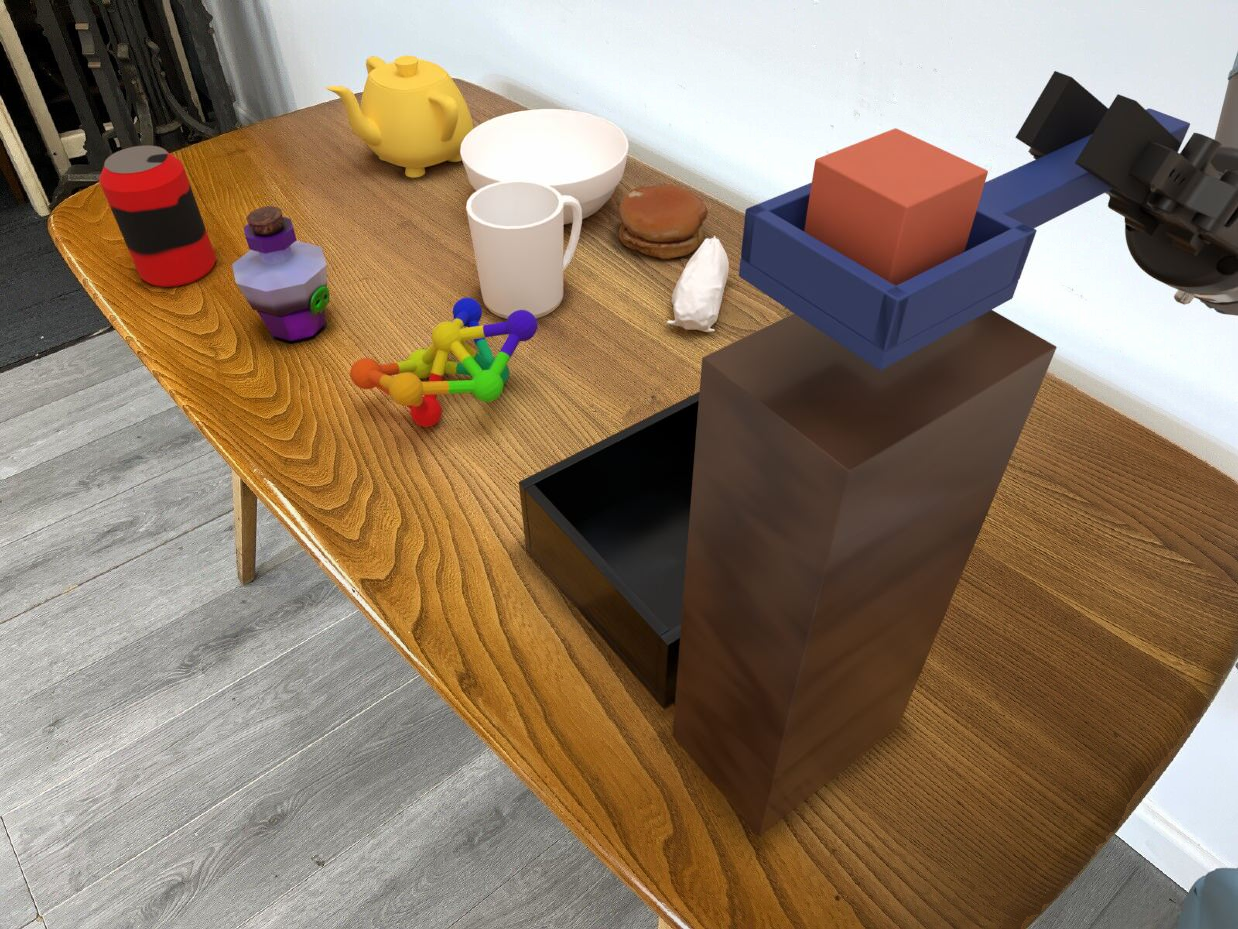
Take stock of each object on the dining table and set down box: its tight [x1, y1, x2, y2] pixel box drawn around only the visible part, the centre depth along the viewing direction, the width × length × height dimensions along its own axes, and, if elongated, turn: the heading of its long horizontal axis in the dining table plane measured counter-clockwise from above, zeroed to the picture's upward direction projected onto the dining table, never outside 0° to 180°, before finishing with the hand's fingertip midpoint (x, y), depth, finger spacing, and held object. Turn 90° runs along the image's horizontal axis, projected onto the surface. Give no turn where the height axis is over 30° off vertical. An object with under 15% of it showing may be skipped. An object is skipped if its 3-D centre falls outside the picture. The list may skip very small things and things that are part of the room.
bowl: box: [460, 108, 630, 225], centre depth 102 cm, size 18×18×7 cm
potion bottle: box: [231, 205, 331, 345], centre depth 84 cm, size 9×9×12 cm
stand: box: [672, 309, 1058, 837], centre depth 47 cm, size 8×12×30 cm, turn 126°
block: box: [804, 127, 989, 286], centre depth 32 cm, size 4×4×4 cm
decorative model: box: [349, 297, 538, 428], centre depth 78 cm, size 13×9×15 cm
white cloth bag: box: [666, 235, 730, 333], centre depth 89 cm, size 5×7×10 cm
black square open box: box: [518, 391, 700, 711], centre depth 65 cm, size 17×17×7 cm
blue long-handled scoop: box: [738, 108, 1191, 370], centre depth 36 cm, size 7×22×3 cm, turn 126°
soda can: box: [98, 145, 217, 288], centre depth 91 cm, size 8×8×12 cm
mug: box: [465, 180, 583, 320], centre depth 88 cm, size 11×9×10 cm
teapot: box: [325, 55, 474, 178], centre depth 109 cm, size 14×14×12 cm
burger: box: [618, 184, 708, 260], centre depth 98 cm, size 10×9×5 cm
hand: (1073, 120), depth 36 cm, fingers closed on blue long-handled scoop, 2 cm apart
